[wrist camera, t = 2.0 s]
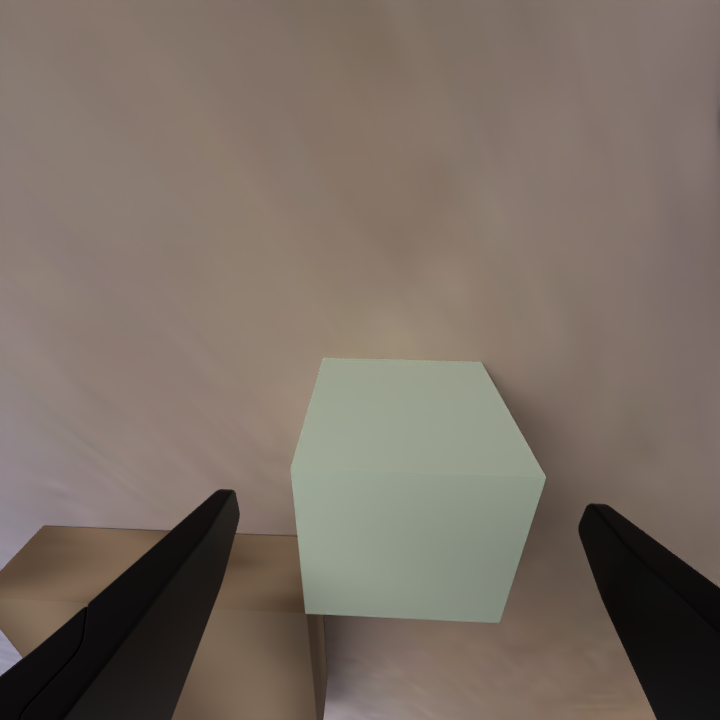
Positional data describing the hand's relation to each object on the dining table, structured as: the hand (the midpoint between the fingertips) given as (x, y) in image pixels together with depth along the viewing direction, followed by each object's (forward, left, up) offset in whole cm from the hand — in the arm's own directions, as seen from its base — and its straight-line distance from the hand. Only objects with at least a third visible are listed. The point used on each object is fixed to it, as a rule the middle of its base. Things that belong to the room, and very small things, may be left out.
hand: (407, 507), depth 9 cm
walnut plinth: (+9, +12, -4) cm, 16 cm away
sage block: (0, 0, -4) cm, 4 cm away
